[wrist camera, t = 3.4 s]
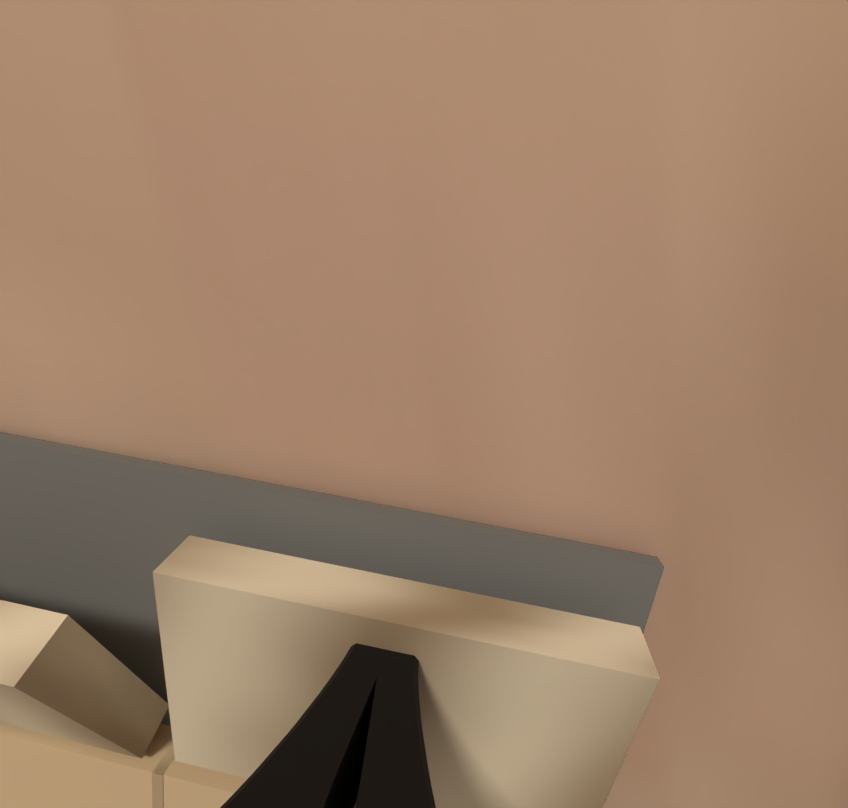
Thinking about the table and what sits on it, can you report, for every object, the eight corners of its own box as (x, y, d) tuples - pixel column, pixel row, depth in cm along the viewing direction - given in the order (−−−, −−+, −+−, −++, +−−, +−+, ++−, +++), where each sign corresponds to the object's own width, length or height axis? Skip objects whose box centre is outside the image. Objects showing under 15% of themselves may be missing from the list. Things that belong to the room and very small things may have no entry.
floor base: (657, 557, 10) (689, 604, 9) (529, 967, 14) (535, 1053, 12) (-187, 396, 12) (-287, 411, 10) (-103, 796, 16) (-168, 852, 14)
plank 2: (639, 626, 9) (660, 679, 8) (569, 800, 11) (578, 860, 10) (189, 535, 10) (152, 572, 9) (203, 712, 12) (175, 760, 11)
